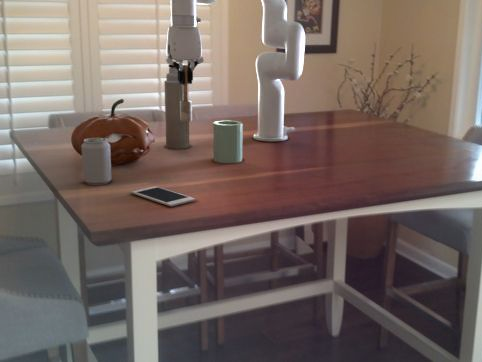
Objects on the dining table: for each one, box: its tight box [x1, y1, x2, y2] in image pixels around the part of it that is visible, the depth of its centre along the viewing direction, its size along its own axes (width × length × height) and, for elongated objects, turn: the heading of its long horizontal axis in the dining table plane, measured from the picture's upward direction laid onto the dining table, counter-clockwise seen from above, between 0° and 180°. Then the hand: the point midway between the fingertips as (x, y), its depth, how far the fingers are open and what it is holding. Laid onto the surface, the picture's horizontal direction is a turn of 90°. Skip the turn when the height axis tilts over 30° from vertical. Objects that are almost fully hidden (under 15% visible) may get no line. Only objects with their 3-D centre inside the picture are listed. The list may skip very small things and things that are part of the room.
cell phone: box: [131, 186, 195, 208], centre depth 170 cm, size 8×16×1 cm, turn 48°
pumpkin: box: [70, 98, 156, 166], centre depth 204 cm, size 25×25×19 cm
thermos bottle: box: [164, 64, 190, 150], centre depth 226 cm, size 8×8×28 cm
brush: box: [180, 64, 193, 122], centre depth 205 cm, size 4×4×17 cm
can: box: [81, 138, 112, 186], centre depth 181 cm, size 8×8×12 cm
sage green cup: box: [212, 119, 244, 164], centre depth 210 cm, size 9×9×12 cm
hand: (185, 83), depth 205 cm, fingers closed on brush
